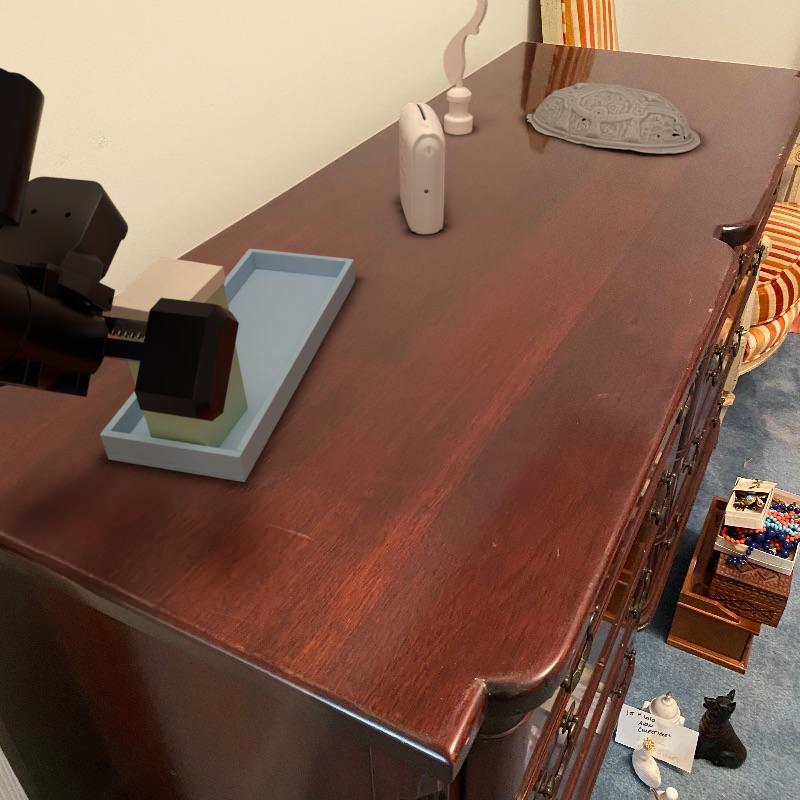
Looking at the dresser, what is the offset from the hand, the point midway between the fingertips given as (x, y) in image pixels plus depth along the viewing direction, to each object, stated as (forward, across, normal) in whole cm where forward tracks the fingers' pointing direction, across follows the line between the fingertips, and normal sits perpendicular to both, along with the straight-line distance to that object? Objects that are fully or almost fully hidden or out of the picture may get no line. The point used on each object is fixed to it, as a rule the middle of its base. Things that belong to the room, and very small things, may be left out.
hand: (145, 366), depth 51 cm
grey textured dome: (+61, -30, -48) cm, 83 cm away
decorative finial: (+58, -9, -45) cm, 74 cm away
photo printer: (+39, -9, -25) cm, 47 cm away
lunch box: (+10, 0, +3) cm, 10 cm away
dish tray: (+17, 0, -4) cm, 18 cm away
